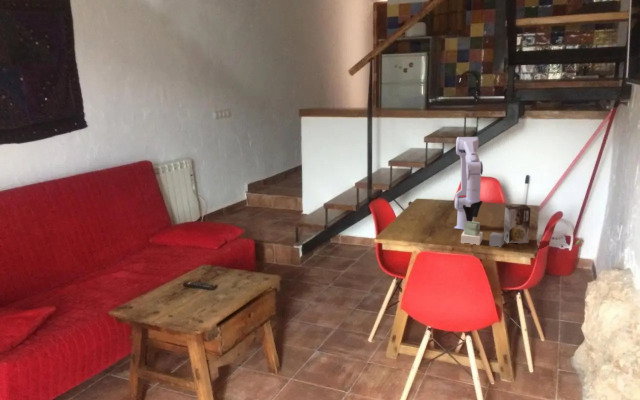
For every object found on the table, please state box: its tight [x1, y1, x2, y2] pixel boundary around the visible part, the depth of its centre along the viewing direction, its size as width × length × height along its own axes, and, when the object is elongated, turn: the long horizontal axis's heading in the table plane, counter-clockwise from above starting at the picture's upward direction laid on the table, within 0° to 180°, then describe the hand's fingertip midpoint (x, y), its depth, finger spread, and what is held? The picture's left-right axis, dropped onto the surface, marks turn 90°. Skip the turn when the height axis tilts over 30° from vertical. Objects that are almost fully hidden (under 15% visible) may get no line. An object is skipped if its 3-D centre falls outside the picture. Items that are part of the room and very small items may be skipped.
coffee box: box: [503, 204, 531, 244], centre depth 223 cm, size 9×6×16 cm
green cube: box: [463, 220, 481, 236], centre depth 225 cm, size 5×5×5 cm
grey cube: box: [488, 231, 505, 248], centre depth 220 cm, size 5×5×5 cm
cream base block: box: [460, 231, 483, 246], centre depth 226 cm, size 8×8×4 cm
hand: (472, 219), depth 224 cm, fingers open, 7 cm apart
